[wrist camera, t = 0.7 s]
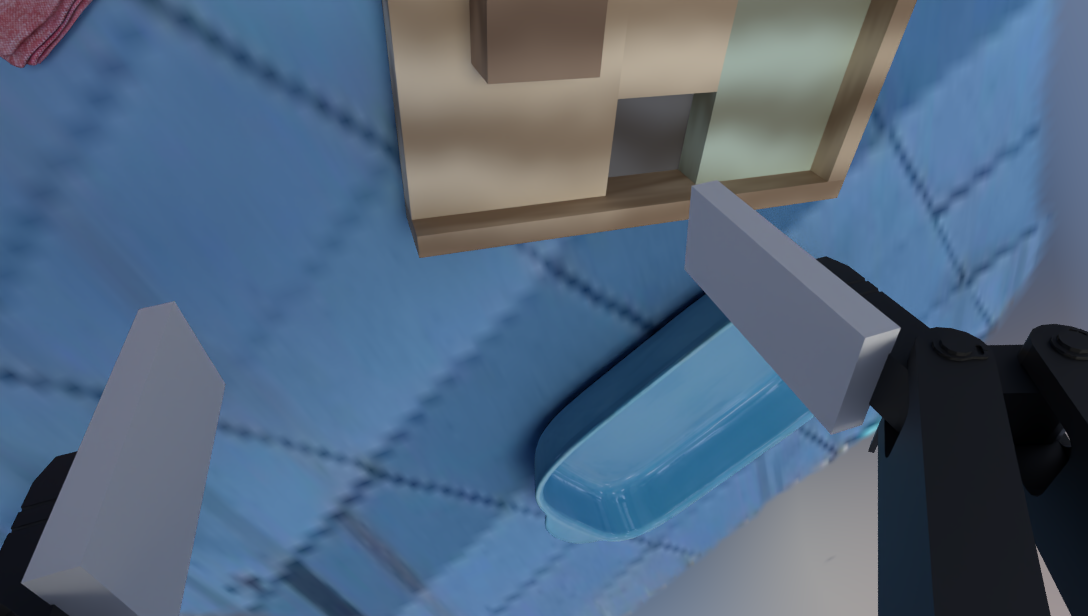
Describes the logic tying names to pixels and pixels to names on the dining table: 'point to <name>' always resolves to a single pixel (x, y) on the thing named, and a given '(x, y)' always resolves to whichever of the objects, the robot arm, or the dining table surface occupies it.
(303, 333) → the dining table surface
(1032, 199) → the dining table surface
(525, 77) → the walnut block
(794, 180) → the box
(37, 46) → the dish towel
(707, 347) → the casserole dish
